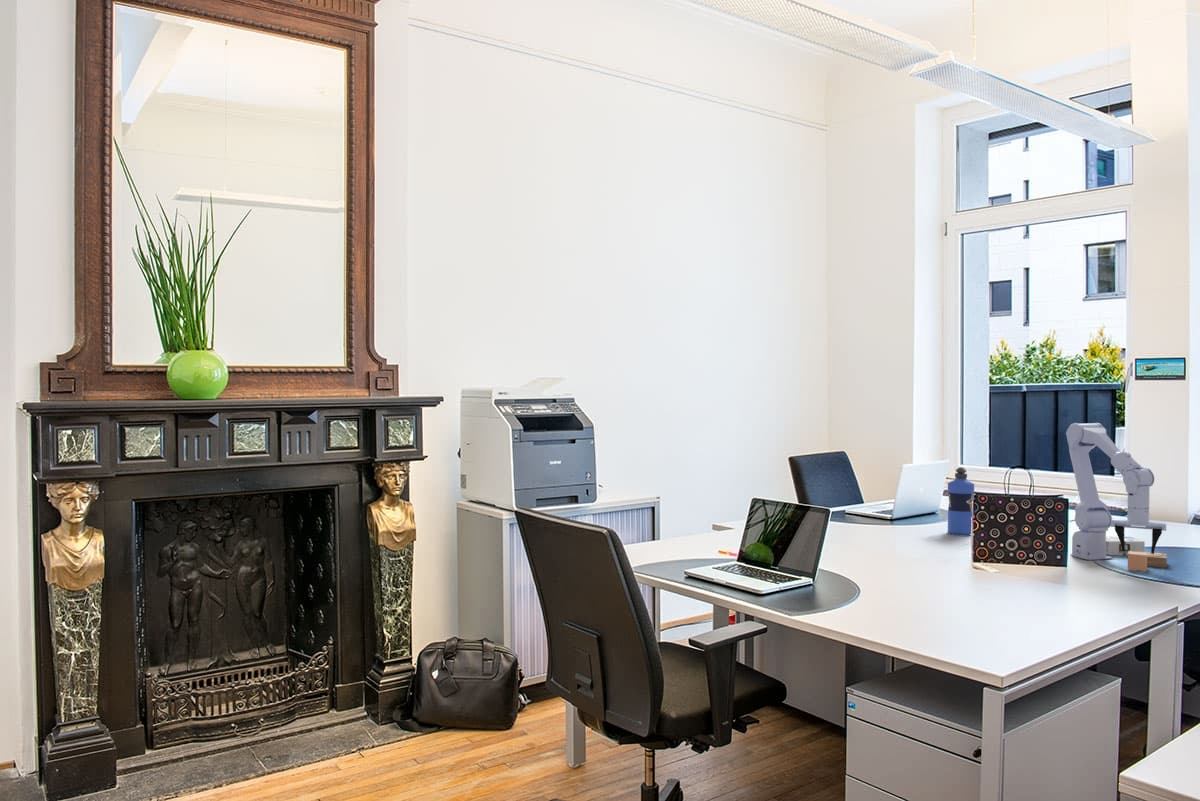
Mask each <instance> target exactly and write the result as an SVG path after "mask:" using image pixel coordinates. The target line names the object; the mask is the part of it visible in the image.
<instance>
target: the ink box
mask: <svg viewBox="0 0 1200 801" xmlns="http://www.w3.org/2000/svg"><path fill="white" fill-rule="evenodd" d="M1124 542H1125V551H1122V547H1121V543H1120V540H1119V537H1118V536H1106V556H1128V551H1134V552H1137V551H1140V552H1146V551H1145V550H1146V549H1145V547H1146V545H1145V541H1144V540H1141V539H1138V538H1135V537H1131V536H1124Z"/></svg>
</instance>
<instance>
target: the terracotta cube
mask: <svg viewBox="0 0 1200 801" xmlns="http://www.w3.org/2000/svg"><path fill="white" fill-rule="evenodd" d="M1144 552H1145V551H1144ZM1144 552H1134V551H1128V555H1127V570H1128V569H1131V570H1130V571H1136V570H1141V571H1140V572H1146V571H1147V572H1148V566H1147V553H1144Z"/></svg>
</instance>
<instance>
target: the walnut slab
mask: <svg viewBox="0 0 1200 801" xmlns="http://www.w3.org/2000/svg"><path fill="white" fill-rule="evenodd" d="M1137 552H1140V551H1137ZM1144 553H1147V567H1152V566H1153V568H1154V567H1155V568H1164V569H1165V568H1167V566H1168V565H1167V564H1168V563H1167V561H1168V558H1167V553H1161V552H1154V554H1151V552H1149V551H1144Z"/></svg>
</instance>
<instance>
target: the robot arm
mask: <svg viewBox="0 0 1200 801" xmlns="http://www.w3.org/2000/svg"><path fill="white" fill-rule="evenodd" d="M1107 432H1108V431H1107V429H1106V428H1105V427H1104V426H1103V425H1102V424H1101V423H1099V422H1093V423H1091V422H1090V423H1077V422H1074V423H1071V424H1070V425H1069V426H1068V428H1067V430H1066V432H1065V435H1066V440H1067V445H1068V450H1069V456H1070V460H1071V465H1072V469H1073V474H1074V478H1075V483H1076V487H1077V492H1078V496H1079V501H1080V502H1079V503H1078V504H1077V505H1076V506H1075V507H1074V512H1075V514H1074V521H1075V525H1076V527H1078V530H1079V531H1075V532H1073V534H1072V537H1071V538H1072V539H1071V540H1072V541H1071V544H1072V545H1071V553H1070V554H1069V555H1070V556H1072V557H1075V558H1078V559H1081V560H1082V559H1083V560H1087V561H1093V560H1094V561H1095V560H1096V561H1097V560H1110V559H1113V557H1112V556H1110V555H1107V554H1106V537H1107V532H1108V531H1109V528H1114V530H1115V533H1116V535H1117V537H1119V540H1120V543H1121V547H1122V551H1125V542H1124V537H1125V528H1128V529H1138V530H1139V529H1142V530H1151V532H1152V533H1151V539H1152V540H1151V549H1150V551H1151V554H1154V553H1155V549H1156V546H1157V543H1158V541H1159V539H1160V537H1161V535H1162V533H1163V532H1164V531H1165V532H1166V531H1167V523H1162V522H1161V523H1160V522H1153V521H1150V487H1152V486H1153V485H1154V484H1155V475H1154V473H1153V472H1152V470H1151V469H1150V468H1147V467H1143V466H1141V464H1140V463H1138V462H1137V461H1136V459H1134V458H1133V457H1132V454H1130V452H1126V451H1121V450H1120V449H1119V448H1118V447H1117V445H1116V444H1115V443H1114V441H1113V440H1112V439H1111V438H1110V437H1109V435H1108V434H1107ZM1095 447H1097V448H1099V450H1101V451H1102V452H1103V453H1104V454H1106V455H1107V456H1108V457H1109V458H1110V465H1111V466H1113V468H1115V470H1116V471H1117V472H1118V473H1119V475H1121V476H1122V482H1123V484H1124V486H1125V491H1126V493H1127V511H1126V513H1127V514H1126V515H1127V517H1126V518H1127V520H1124V519H1123V520H1122V519H1121V520H1119V519H1117V520H1116V519H1113V516H1112V514H1111V512H1110V511H1109V509H1108V505H1107V504H1106V503H1105V502H1103V501H1101V500H1100V498H1099V494H1098V489H1097V484H1096V480H1095V476H1094V472H1093V467H1092V464H1091V459H1090V451H1091V450H1092V449H1094V448H1095Z"/></svg>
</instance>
